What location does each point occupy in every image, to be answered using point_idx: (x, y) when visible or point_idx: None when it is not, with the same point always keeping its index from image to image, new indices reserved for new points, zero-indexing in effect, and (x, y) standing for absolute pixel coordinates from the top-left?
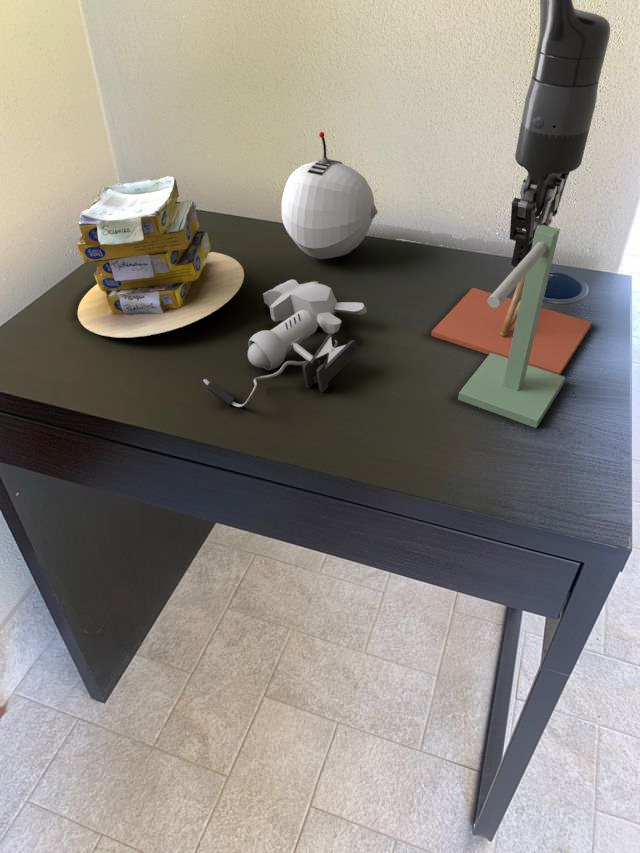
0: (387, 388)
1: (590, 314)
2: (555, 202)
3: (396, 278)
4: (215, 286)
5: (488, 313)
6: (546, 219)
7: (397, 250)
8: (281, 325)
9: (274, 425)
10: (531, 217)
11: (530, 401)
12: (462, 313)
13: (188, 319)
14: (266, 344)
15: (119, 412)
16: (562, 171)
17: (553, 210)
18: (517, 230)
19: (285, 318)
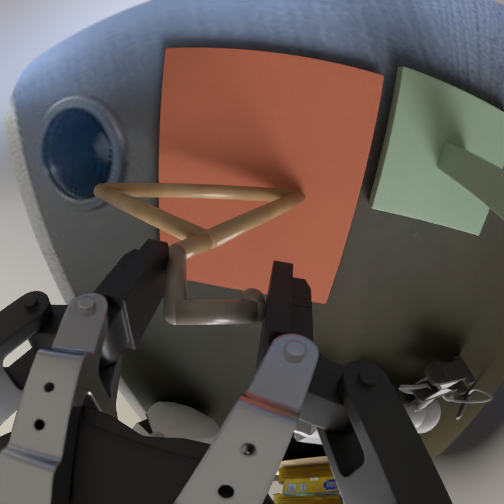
0: (454, 310)
1: (127, 64)
2: (69, 409)
3: (191, 358)
4: (326, 460)
5: None
6: (105, 334)
7: (130, 362)
8: None
9: (494, 362)
10: (447, 500)
11: (483, 128)
12: (251, 274)
13: None
14: (436, 422)
15: (465, 424)
16: None
17: (83, 364)
18: (335, 432)
19: None
